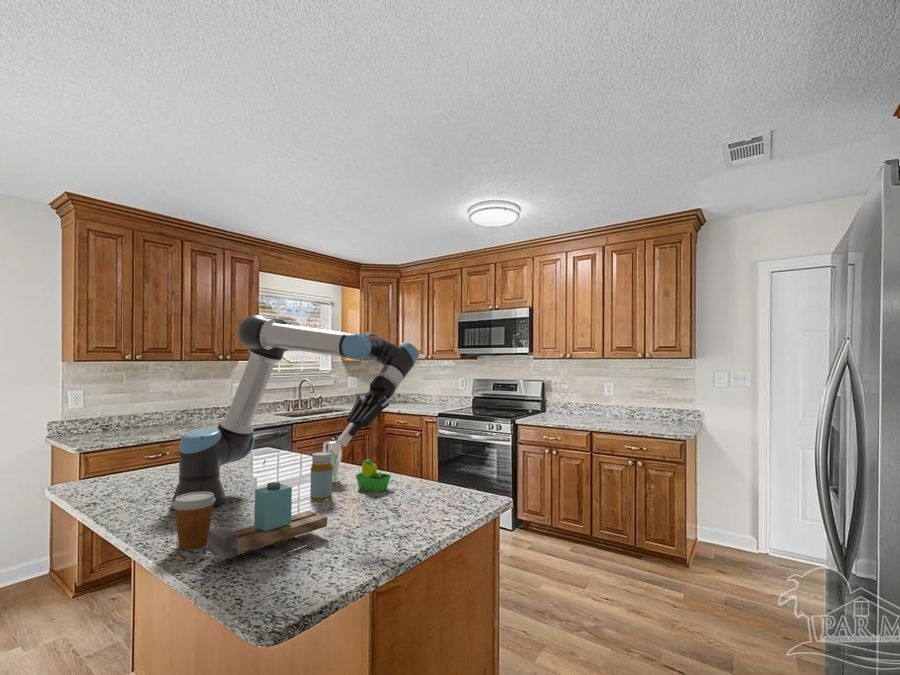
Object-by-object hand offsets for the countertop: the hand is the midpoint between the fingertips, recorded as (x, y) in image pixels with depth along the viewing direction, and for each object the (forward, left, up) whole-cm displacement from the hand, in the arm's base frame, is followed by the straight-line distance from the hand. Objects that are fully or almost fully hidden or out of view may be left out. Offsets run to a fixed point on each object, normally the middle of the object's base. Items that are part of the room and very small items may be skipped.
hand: (341, 443), depth 133 cm
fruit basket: (-4, +37, -23) cm, 44 cm away
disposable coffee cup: (-31, -20, -23) cm, 43 cm away
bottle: (-17, +23, -23) cm, 37 cm away
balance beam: (-10, -18, -23) cm, 31 cm away
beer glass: (-23, +45, -23) cm, 56 cm away
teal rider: (-10, -18, -19) cm, 28 cm away
